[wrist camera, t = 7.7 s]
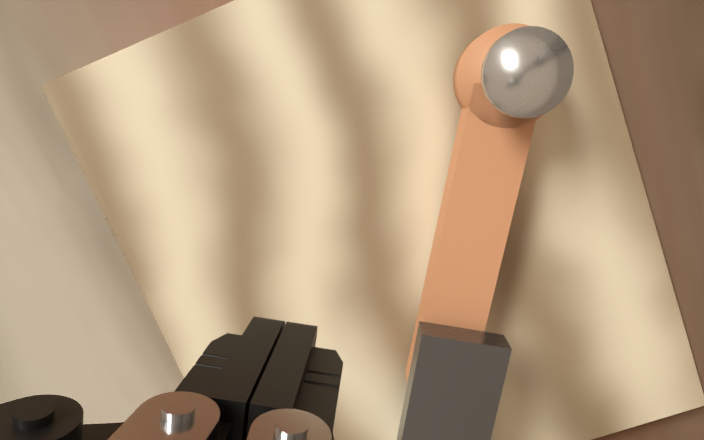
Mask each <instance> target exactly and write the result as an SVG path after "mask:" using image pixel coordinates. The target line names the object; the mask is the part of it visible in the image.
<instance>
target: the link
mask: <svg viewBox="0 0 704 440" xmlns="http://www.w3.org/2000/svg"><path fill="white" fill-rule="evenodd" d="M525 26H529V25H525V24H518V23H510V24H504V25H500V26H497V27H494V28H492V29H490V30H488V31H487V32H485V33H483V34H482V35H480V36H479V37H478V38H476V39H475V40H474V41H472V42H471V43H470V44H469V45H468V46H467V47H466V48H465V49H464V51H463V52H462V53H461V55H460V57H459V59H458V61H457V63H456V66H455V70H454V75H453V88H454V93H455V97H456V99H457V102H458V104H459V105H460V107H461V113H460V117H459V122H458V127H457V131H456V136H455V141H454V145H453V150H452V155H451V160H450V164H449V169H448V174H447V178H446V183H445V188H444V192H443V197H442V202H441V207H440V211H439V216H438V221H437V225H436V230H435V235H434V239H433V244H432V249H431V254H430V258H429V263H428V268H427V272H426V277H425V282H424V286H423V291H422V296H421V301H420V305H419V310H418V315H417V319H416V324H415V329H414V333H413V338H412V343H411V347H410V352H409V357H408V362H407V366H406V380H407V382H408V377H409V372H410V367H411V361H412V356H413V351H414V346H415V341H416V335H417V330H418V325H419V321H422V322H428V323H434V324H440V325H447V326H453V327H459V328H465V329H472V330H478V331H485V327H486V323H487V319H488V315H489V311H490V307H491V303H492V299H493V295H494V290H495V286H496V282H497V278H498V274H499V270H500V266H501V262H502V258H503V254H504V250H505V245H506V241H507V237H508V233H509V229H510V225H511V221H512V217H513V213H514V209H515V204H516V200H517V196H518V192H519V188H520V184H521V180H522V176H523V172H524V168H525V163H526V159H527V155H528V151H529V147H530V143H531V139H532V135H533V131H534V127H535V123H536V120H537V119H539V118H540V117H541V116H543V115H544V114H543V115H541V116H537V117H533V118H516V117H511V116H508V115H505V114H503V113H501V112H499V111H498V110H497V109H495V108H494V107H493V106H492V105H491V104H490V103H489V101H488V100H487V98H486V96H485V94H484V92H483V89H482V85H481V67H482V63H483V60H484V58H485V55H486V53H487V52H488V50H489V49H490V47H491V46H492V45H493V44H494V43H495V42H496V41H497V40H498V39H499V38H500V37H502V36H503V35H505V34H507V33H508V32H510V31H512V30H514V29H517V28H520V27H525Z"/></svg>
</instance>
